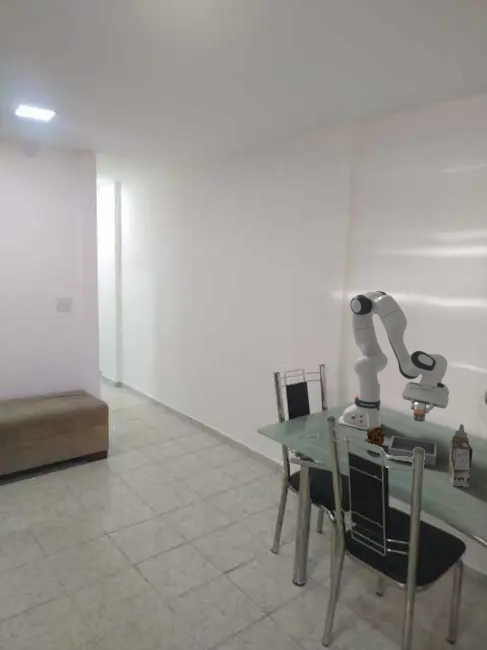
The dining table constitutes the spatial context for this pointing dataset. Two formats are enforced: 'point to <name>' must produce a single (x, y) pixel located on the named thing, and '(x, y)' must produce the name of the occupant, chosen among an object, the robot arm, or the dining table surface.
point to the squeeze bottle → (460, 435)
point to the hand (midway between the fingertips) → (419, 410)
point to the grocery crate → (406, 446)
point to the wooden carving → (375, 436)
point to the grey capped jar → (419, 411)
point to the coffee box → (460, 463)
